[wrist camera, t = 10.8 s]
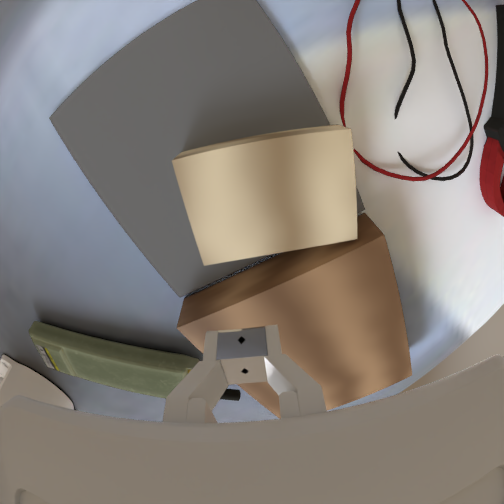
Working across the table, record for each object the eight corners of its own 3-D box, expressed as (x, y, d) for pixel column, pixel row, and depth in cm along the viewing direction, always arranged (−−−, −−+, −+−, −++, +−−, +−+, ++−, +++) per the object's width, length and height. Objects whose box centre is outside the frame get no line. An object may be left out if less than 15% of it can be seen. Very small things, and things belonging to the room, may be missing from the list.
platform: (283, 399, 32) (285, 422, 29) (184, 298, 23) (176, 328, 20) (402, 352, 28) (412, 375, 25) (364, 212, 19) (384, 234, 16)
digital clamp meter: (555, 21, 3) (526, 237, 16) (528, 19, 7) (499, 216, 20) (351, -127, 1) (304, 165, 14) (336, -103, 5) (291, 149, 18)
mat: (180, 294, 23) (179, 297, 23) (52, 117, 15) (49, 118, 14) (362, 207, 19) (364, 209, 19) (240, -18, 11) (240, -20, 11)
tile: (208, 246, 20) (204, 265, 18) (181, 152, 17) (171, 160, 14) (345, 222, 19) (357, 239, 17) (337, 124, 16) (351, 128, 14)
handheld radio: (54, 351, 28) (239, 388, 30) (45, 369, 26) (238, 411, 28) (37, 316, 25) (246, 355, 27) (24, 335, 22) (246, 382, 24)
